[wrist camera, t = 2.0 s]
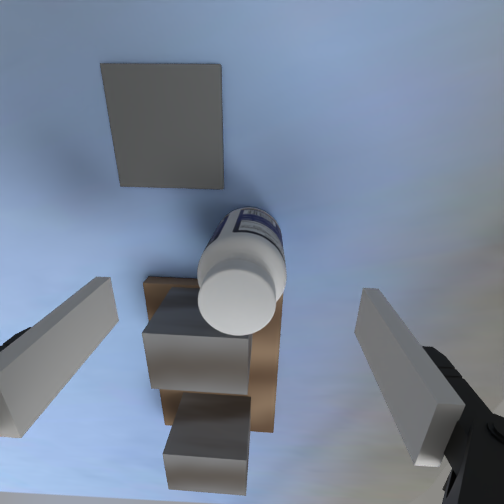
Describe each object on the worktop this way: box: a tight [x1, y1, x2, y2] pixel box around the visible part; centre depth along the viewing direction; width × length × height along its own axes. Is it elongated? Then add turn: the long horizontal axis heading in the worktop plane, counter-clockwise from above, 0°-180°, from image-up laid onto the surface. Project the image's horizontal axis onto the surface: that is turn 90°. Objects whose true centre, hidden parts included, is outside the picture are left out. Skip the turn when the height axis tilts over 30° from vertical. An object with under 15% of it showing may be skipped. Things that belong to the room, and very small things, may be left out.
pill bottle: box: [197, 207, 287, 335], centre depth 18 cm, size 5×5×10 cm
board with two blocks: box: [142, 276, 283, 496], centre depth 25 cm, size 18×12×7 cm, turn 179°
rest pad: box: [100, 63, 224, 189], centre depth 20 cm, size 8×8×1 cm
